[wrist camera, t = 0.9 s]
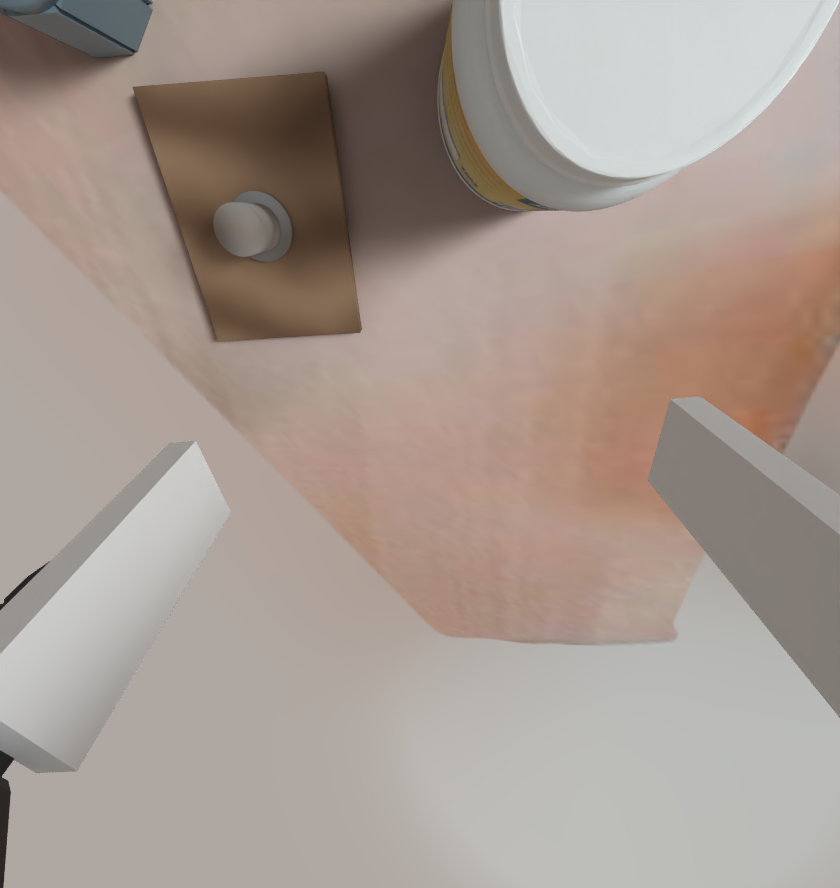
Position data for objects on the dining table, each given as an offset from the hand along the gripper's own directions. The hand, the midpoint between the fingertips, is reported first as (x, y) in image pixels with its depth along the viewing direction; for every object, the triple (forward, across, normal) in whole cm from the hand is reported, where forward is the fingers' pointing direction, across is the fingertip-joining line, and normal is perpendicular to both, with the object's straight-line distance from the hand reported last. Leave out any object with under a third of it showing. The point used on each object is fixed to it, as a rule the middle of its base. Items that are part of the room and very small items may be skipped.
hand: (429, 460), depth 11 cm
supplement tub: (+24, +8, +11) cm, 28 cm away
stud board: (+24, -11, +6) cm, 27 cm away
